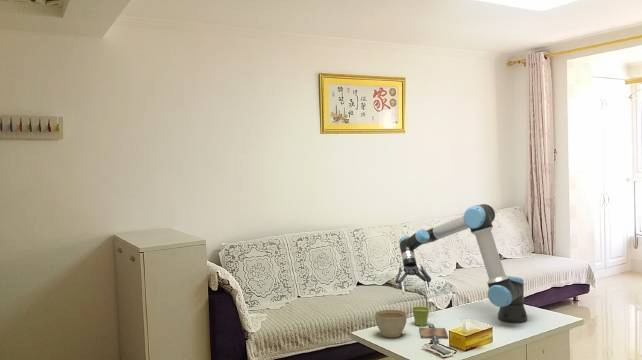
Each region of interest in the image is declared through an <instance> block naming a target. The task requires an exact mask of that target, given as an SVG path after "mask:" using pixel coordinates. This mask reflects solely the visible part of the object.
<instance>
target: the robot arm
mask: <svg viewBox="0 0 642 360" xmlns="http://www.w3.org/2000/svg"><path fill="white" fill-rule="evenodd" d="M495 218H496V213H495V209H494V208H493V207H492V206H491V205H489V204H485V203H482V204H476V205H471V206H470V207H468V208H467V209H465V211H464V214H463V216H460V217H458V218H455V219H452V220H450V221H447V222H444V223H443V224H440V225H437V226H435V227H431V228H429V229H425V228H421V229H419V230H417V231H416V232H415V233H414V234H412V235H411V236H408V235H407V236H406V235H405V236H402V237H400V239H399V240H398V242H399V249H400V254H401V260H402V265H403V267H402V266H399V268H398V273H397V275H396V277H395V281H394V282H395V283H396V284H398V286H399V289H401V293H402V295H404V294H405V287H404V282H403V281H404V280H405V278H407V276H416V277H418V278H419V279H421V280H422V281H423V282H424V287H425V292H426V294H428V295H429V291H430V290H429V288H430V282H432V278H431V276H430V275H429V274H428V272H427V271H426V270H425V269H424V267H423V265H422V266H420V267H418V265H417V261H416V254H415V251H414V250H416V249H417V248H419V247H421V246H423V245H425V244H428V243H433V242H436V241H439V240H441V239H444V238H446V237H448V236H451V235H454V234H457V233H460V232H462V231H465V230H467V229H470V233H471V234H472V235H474V236H475V238H476V242H477V246H478V248H479V252H480V255H481V259H482V260H483V264H484V268H485V270H486V274H487V278H488V280H487V282H486V283H487V287H488V291H487V298H488V300H489V301H490V303H491V304H492V305H494V306H496V307H499V310H498V313H497V319H498V320H500V321H502V322H506V323H512V324H514V323H515V324H517V323H525V322H527V321H528V313H527V311H526V308H525V305H524V303H525V301H524V300H525V299H524V297H525V296H524V295H525V294H524V291H525V290H524V286H525V285H524V284H525V283H524V279H523V278H521V277H518V276H510V275H506V273H505V270H504V266H503V264H502V260H501V258H500V255H499V251H498V248H497V245H496V241H495V240H494V235H493V232H492V230H493V227H494V225H493V222H494V221H495V220H496V219H495ZM403 272H404V273H403ZM402 273H403V275H402V276H401V274H402ZM400 276H401V277H400Z"/></svg>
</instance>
